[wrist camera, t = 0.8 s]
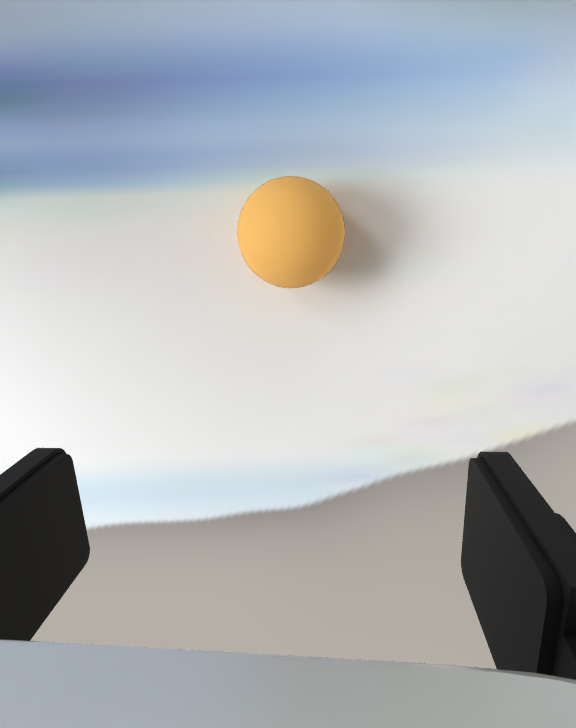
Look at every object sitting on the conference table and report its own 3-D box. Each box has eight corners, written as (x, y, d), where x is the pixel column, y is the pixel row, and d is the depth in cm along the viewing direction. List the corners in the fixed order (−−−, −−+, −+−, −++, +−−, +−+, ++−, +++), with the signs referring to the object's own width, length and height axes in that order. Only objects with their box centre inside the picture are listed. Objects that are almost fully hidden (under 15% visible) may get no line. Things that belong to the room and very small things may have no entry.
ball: (237, 266, 30) (216, 278, 24) (259, 169, 28) (241, 156, 22) (327, 291, 30) (328, 308, 24) (355, 195, 28) (362, 189, 22)
